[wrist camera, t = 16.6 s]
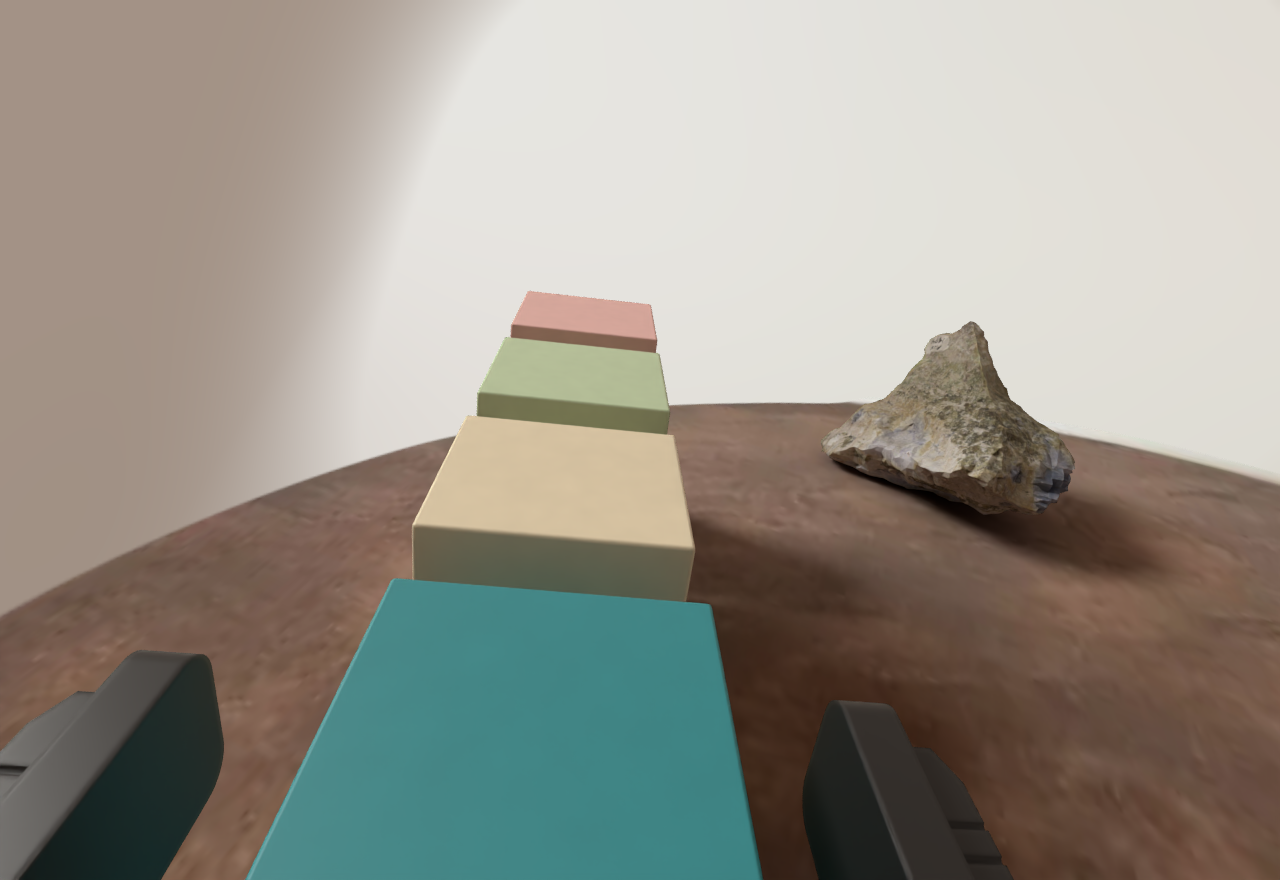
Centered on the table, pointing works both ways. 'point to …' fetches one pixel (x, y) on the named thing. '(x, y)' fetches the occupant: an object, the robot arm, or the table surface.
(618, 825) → the teal block
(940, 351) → the rock
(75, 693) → the robot arm
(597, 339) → the line block
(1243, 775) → the table surface
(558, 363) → the line block
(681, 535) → the line block
